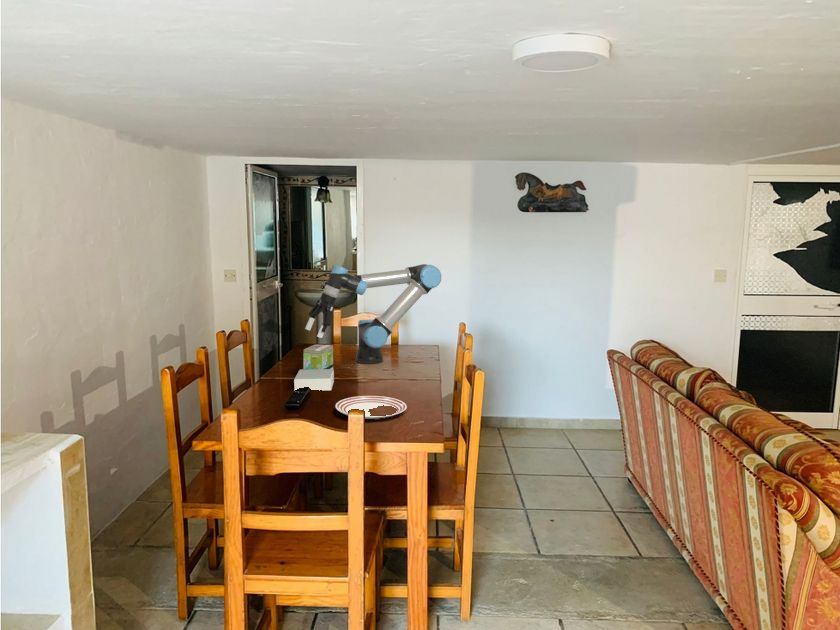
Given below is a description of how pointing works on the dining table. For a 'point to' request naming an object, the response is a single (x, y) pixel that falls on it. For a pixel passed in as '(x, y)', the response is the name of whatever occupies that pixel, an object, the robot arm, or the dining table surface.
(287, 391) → the dining table surface
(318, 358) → the tea box
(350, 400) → the dinner plate
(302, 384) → the plinth
